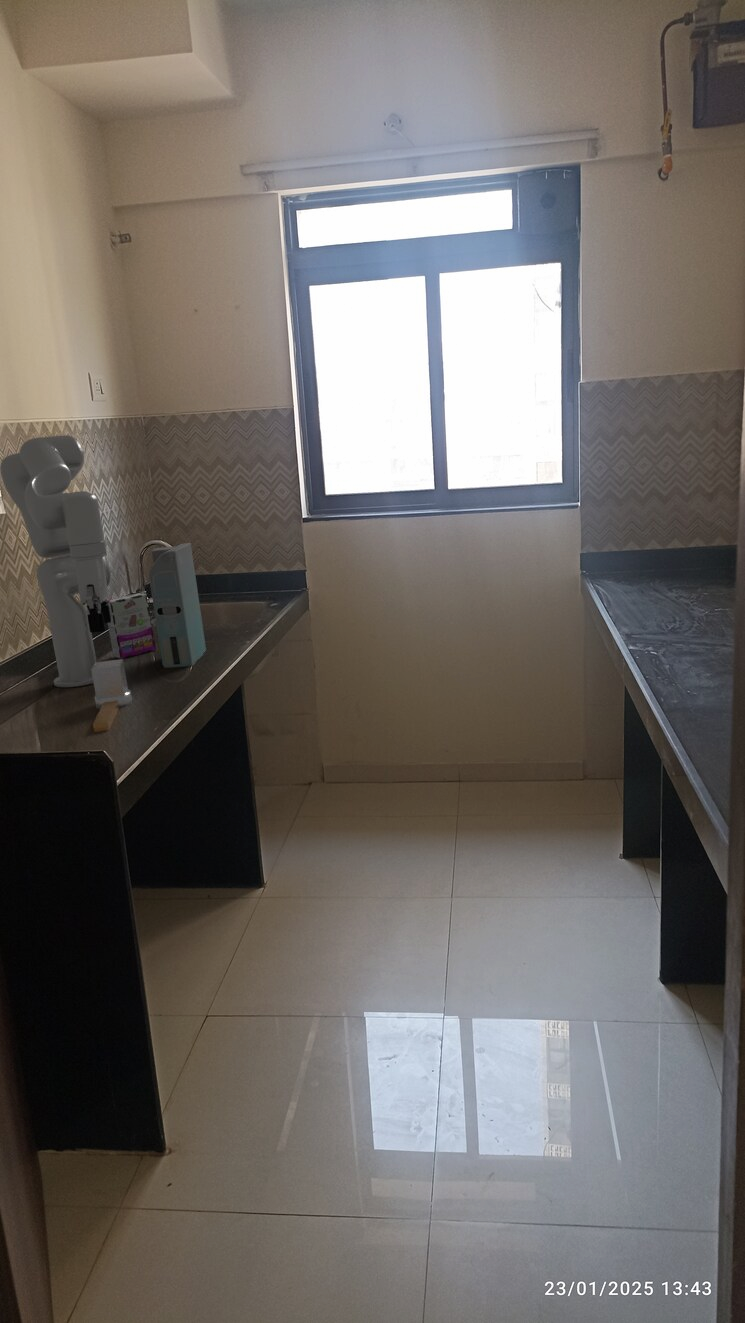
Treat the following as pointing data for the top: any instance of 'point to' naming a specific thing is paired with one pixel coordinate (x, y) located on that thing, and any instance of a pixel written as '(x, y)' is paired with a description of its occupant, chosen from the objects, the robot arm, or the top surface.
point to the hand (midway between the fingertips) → (101, 627)
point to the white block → (109, 679)
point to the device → (176, 606)
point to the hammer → (109, 710)
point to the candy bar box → (130, 626)
